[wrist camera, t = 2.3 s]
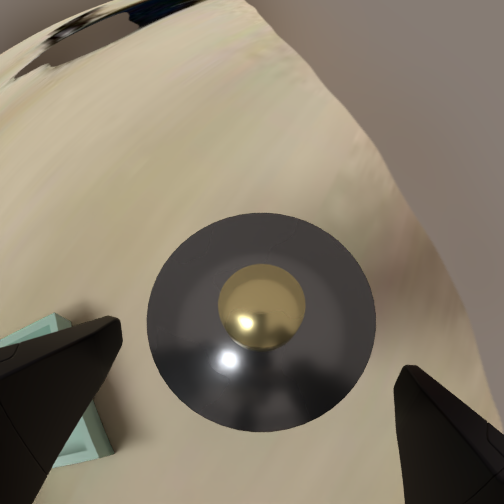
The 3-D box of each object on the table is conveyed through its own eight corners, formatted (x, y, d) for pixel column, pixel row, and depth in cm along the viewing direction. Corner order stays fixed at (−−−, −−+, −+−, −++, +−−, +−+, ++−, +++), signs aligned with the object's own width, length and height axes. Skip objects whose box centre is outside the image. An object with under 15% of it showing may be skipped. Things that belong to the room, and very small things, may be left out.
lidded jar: (319, 385, 16) (430, 349, 5) (240, 424, 15) (197, 479, 4) (279, 313, 18) (306, 168, 7) (203, 348, 17) (108, 251, 6)
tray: (114, 453, 14) (99, 457, 12) (21, 472, 12) (4, 474, 10) (70, 321, 18) (54, 312, 16) (-9, 358, 16) (-26, 353, 14)
